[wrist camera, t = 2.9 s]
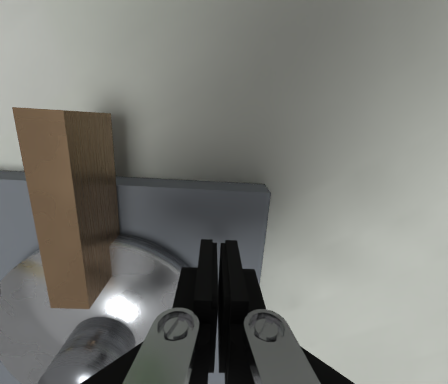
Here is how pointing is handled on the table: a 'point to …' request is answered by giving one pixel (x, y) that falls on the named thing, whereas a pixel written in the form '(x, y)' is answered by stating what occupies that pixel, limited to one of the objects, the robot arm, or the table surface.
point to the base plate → (153, 223)
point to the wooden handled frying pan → (77, 258)
